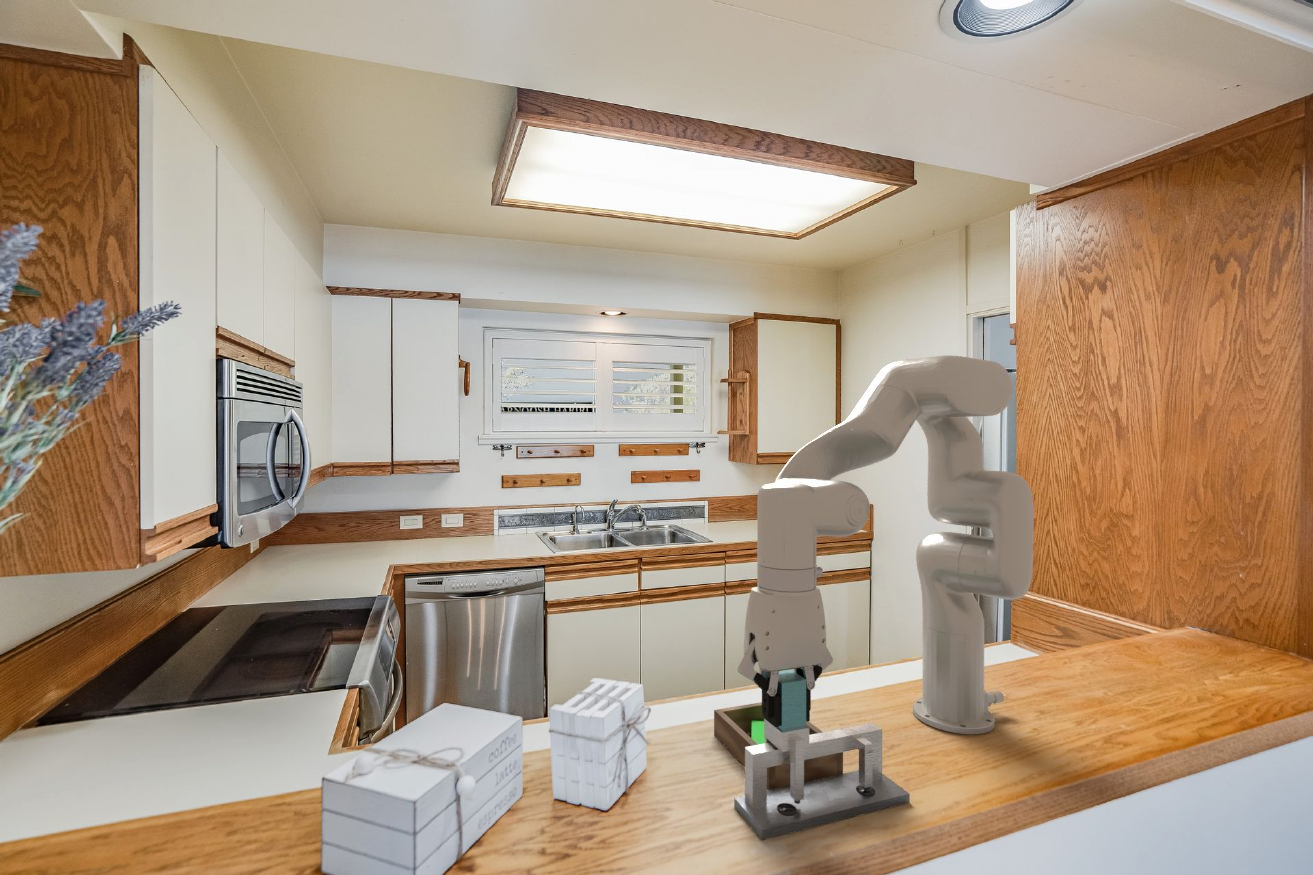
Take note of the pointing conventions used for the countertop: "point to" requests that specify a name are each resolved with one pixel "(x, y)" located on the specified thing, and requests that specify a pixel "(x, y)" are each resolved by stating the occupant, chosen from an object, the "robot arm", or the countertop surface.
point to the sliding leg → (791, 728)
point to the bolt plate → (820, 804)
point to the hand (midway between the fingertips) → (786, 718)
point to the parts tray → (733, 736)
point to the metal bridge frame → (819, 745)
